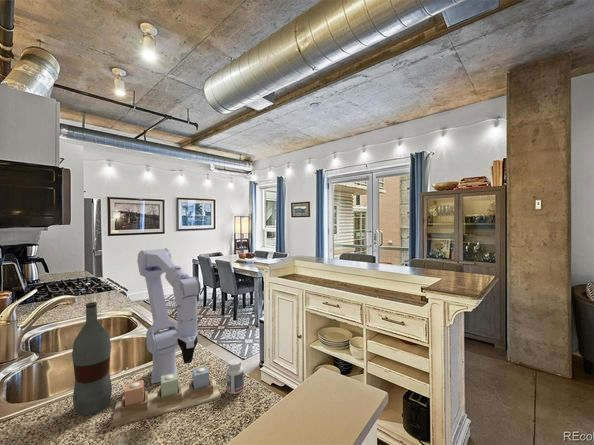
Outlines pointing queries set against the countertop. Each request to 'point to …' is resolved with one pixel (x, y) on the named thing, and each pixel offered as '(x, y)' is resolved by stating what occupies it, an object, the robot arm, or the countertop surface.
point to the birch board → (164, 402)
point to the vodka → (91, 366)
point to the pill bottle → (235, 377)
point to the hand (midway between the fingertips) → (187, 362)
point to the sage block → (169, 385)
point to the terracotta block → (134, 393)
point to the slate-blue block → (200, 377)
